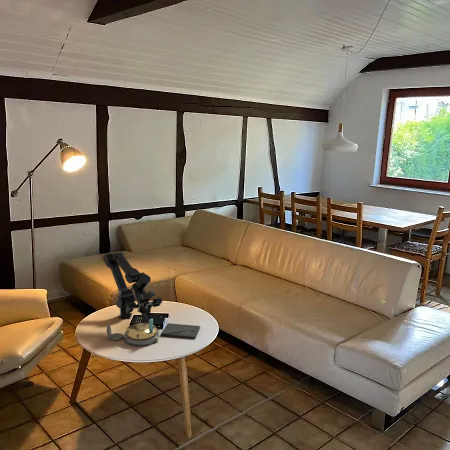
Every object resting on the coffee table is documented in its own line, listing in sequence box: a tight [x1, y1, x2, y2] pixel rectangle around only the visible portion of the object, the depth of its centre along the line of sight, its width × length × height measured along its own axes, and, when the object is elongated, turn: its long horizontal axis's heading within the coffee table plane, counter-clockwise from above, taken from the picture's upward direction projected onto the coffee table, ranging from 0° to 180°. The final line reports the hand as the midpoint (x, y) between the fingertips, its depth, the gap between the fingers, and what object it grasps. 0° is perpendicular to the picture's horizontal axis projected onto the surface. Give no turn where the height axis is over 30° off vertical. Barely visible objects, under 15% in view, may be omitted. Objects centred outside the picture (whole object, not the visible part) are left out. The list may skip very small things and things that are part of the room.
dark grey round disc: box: [123, 330, 160, 347], centre depth 226 cm, size 17×18×3 cm
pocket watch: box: [106, 320, 124, 341], centre depth 225 cm, size 8×8×10 cm
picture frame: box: [160, 323, 201, 340], centre depth 234 cm, size 13×2×18 cm
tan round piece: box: [125, 317, 158, 341], centre depth 225 cm, size 15×15×10 cm
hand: (149, 319), depth 230 cm, fingers closed
